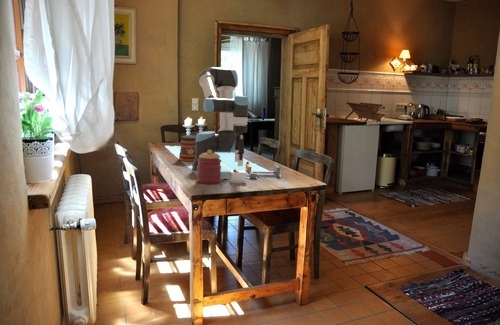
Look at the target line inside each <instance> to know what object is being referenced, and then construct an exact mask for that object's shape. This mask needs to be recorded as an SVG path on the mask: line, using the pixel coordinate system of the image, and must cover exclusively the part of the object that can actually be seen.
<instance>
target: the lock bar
mask: <svg viewBox="0 0 500 325" xmlns="http://www.w3.org/2000/svg"><path fill="white" fill-rule="evenodd" d="M245 169H246V172H252V166H251V165H250V162H249V161H246V162H245Z"/></svg>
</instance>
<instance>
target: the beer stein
mask: <svg viewBox="0 0 500 325" xmlns="http://www.w3.org/2000/svg"><path fill="white" fill-rule="evenodd" d="M196 135H197V134H196ZM196 135H192V134H189V135H188V134H187V135H183V136H182V135H180V137H179V138H180V151H179V155H178V156H179V157H178V160H179V161H181V162H185V163H191V162H192V163H193V162H194V159H195V156H196Z"/></svg>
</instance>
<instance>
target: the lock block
mask: <svg viewBox="0 0 500 325" xmlns="http://www.w3.org/2000/svg"><path fill="white" fill-rule="evenodd" d="M246 172H247V170H245V169H244V170H243V169H242V170H240V169H239V170H237V169H231V170H230V176H229V178H230V179H229V181H230V183H231V184H246V183H247V176H246Z"/></svg>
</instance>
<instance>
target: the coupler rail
mask: <svg viewBox="0 0 500 325" xmlns="http://www.w3.org/2000/svg"><path fill="white" fill-rule="evenodd" d="M280 176H281V167H280V165H278V164H273V169H272V171H251V172H248V171H246V177H249V179H253V180H257V178H259V177H260V178H261V177H263V178H267V177H268V178H269V177H270V178H280Z"/></svg>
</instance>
